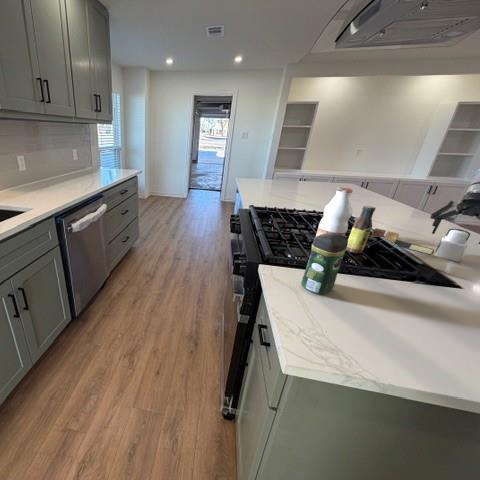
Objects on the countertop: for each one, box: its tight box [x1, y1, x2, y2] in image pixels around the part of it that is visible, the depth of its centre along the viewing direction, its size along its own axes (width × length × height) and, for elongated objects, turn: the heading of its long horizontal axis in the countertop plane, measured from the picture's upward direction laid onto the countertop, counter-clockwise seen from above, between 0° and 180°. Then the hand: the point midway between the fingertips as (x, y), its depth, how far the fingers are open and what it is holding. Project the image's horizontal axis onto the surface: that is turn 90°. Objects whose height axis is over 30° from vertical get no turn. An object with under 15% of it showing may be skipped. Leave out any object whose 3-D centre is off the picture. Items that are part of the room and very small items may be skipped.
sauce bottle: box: [346, 205, 376, 254], centre depth 106 cm, size 7×6×20 cm
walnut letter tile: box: [370, 227, 387, 239], centre depth 123 cm, size 4×4×4 cm
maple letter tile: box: [384, 230, 400, 243], centre depth 120 cm, size 4×4×4 cm
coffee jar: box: [300, 232, 348, 295], centre depth 79 cm, size 10×8×19 cm
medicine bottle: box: [434, 228, 471, 263], centre depth 105 cm, size 7×7×12 cm
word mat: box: [367, 235, 434, 256], centre depth 118 cm, size 22×10×1 cm, turn 39°
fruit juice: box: [315, 186, 354, 237], centre depth 99 cm, size 9×9×28 cm
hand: (456, 237), depth 105 cm, fingers open, 13 cm apart
